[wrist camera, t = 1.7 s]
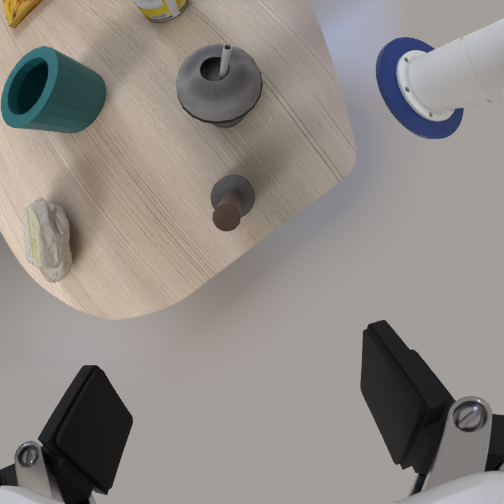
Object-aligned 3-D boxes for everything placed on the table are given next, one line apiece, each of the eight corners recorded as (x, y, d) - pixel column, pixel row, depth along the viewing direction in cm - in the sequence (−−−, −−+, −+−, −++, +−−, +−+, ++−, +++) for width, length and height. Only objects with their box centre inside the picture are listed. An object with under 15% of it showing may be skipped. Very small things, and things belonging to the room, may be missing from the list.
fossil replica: (55, 278, 37) (99, 256, 37) (31, 303, 29) (77, 280, 29) (24, 213, 32) (66, 183, 32) (-6, 227, 24) (36, 192, 25)
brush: (243, 168, 33) (244, 167, 17) (259, 203, 35) (275, 235, 18) (207, 185, 34) (177, 201, 17) (224, 219, 35) (210, 265, 19)
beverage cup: (208, 78, 30) (175, -10, 10) (263, 94, 30) (290, 14, 11) (188, 129, 31) (125, 85, 12) (244, 146, 32) (247, 115, 13)
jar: (95, 59, 27) (50, 31, 16) (114, 107, 30) (66, 88, 18) (47, 97, 28) (-3, 85, 16) (63, 145, 31) (8, 144, 19)
